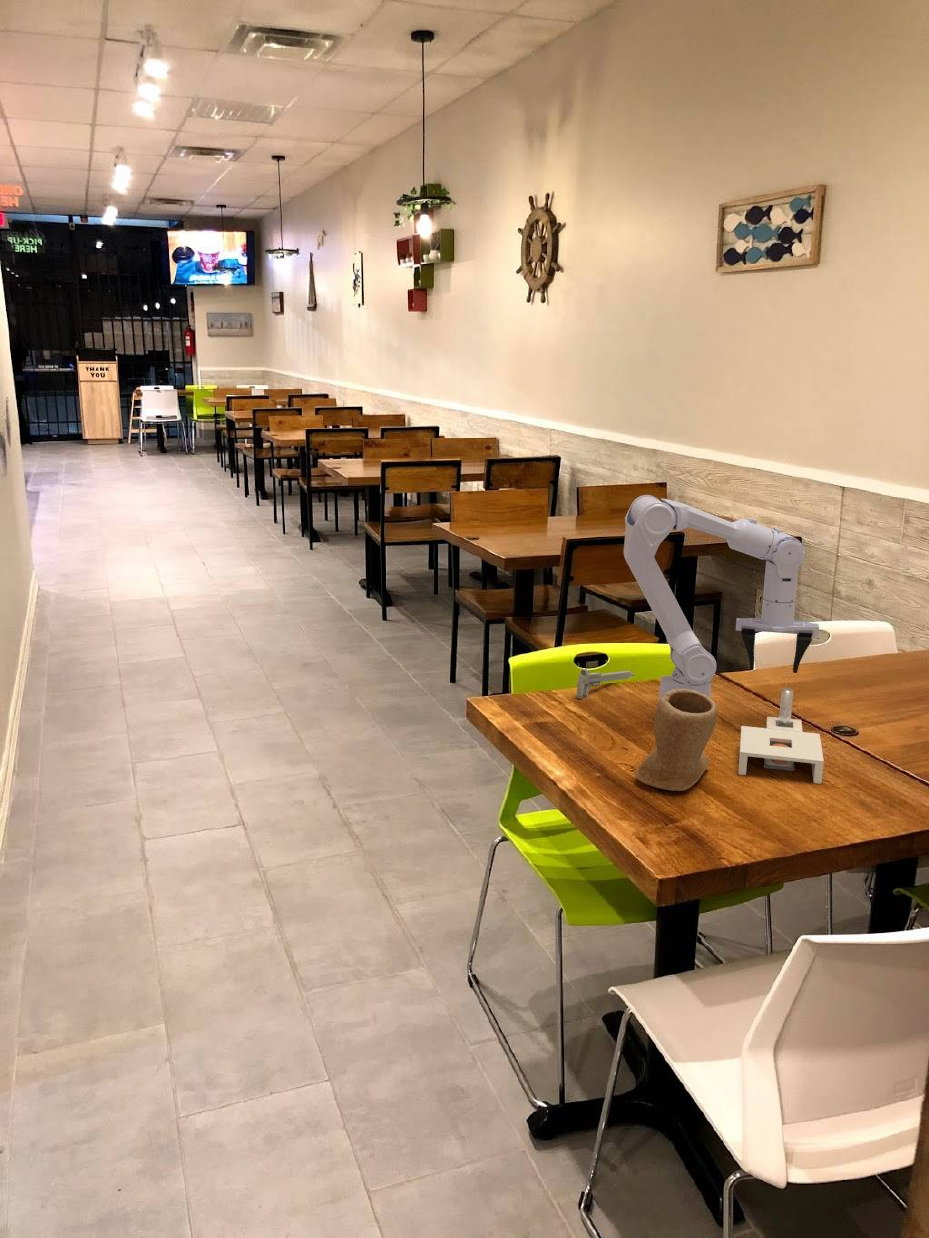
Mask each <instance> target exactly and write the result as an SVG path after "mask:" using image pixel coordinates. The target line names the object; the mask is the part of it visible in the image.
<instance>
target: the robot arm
mask: <svg viewBox="0 0 929 1238" xmlns="http://www.w3.org/2000/svg"><path fill="white" fill-rule="evenodd" d="M660 500H661V501H660ZM624 521H625V534H624V544H623V556H624V560H625V562H626V564H627V565H628V567H629V569H630V571H631V573H632V575H633V577H634V578H635V580H636V582H637V585H638V586H639V587H640V590H641V592H642V593H643V596H644V598H645V599H646V601H647V603H648V605H649V607H650V609H651V610H652V612H653V615H654V616H655V618H656V620H657V622H658V623H659V625H660V628H661V629H662V632H663V633H664V635H665V638H666V642H667V644H668V646H669V649H670V651H669V652H670V654H669V656H670V659H671V662H672V664H673V665H674V669H673V671H672V673H671V675H662V676H661V678H660V684H659V685H660V686H659V693H658V695H659V696H658V702H659V701H660V699H661V697H662V696H663V695H664V694H665V693H667V692H668V691H670V690H674V689H690V690H695V691H698V692H700V693H703V694H705V695H706V696H708V697H710V698H711V691H712V690H711V689H712V679H713V677H714V675H715V674H716V671H717V661H716V658H715V656H713V655H712V654H711V653H710V652H709V651H707V650H706V649H705V647H703V645H702V643H701V641H700V640H699V638H698V637H697V635H696V634H695V632H694V631H693V629H692V628H691V625H690V624H689V621H688V619H687V618H686V616H685V614H684V613H683V610H682V608H681V606H680V605H679V603H678V601H677V598H676V596H675V595H674V593H673V591H672V589H671V587H670V585H669V583H668V581H667V580H666V579H667V578H665V576H664V574H663V572H662V569H661V568H660V566H659V564H658V563H657V562H658V561H657V560H656V557H655V555H656V553H657V551H658V548H659V546H660V544H661V543H662V542H663V541H664V540H665V539H666V538H667V537H668V536H669V534H670V533H671V532H672V531H673V530H674V531H675V532H680V531H682V530H685V529H686V528H687V529H688V528H691V529H694V530H696V531H700V532H704V533H707V534H710V535H712V536H715V537H720V538H722V539H724V540H726V541H727V545H728V547H729V549H731V550H734V551H737V552H741V553H743V554H746V555H748V556H751V557H754V558H757V559H759V560H766V561H765V572H764V583H763V594H762V595H763V596H762V605H761V616H760V617H761V618H760V617H748V618H746V617H745V618H743V617H742V618H741V617H740V618H739V617H736V619H735V621H736V622H735V631H738V632H741V635H740V636H741V638H742V641H743V643H744V646H745V649H746V652H747V656H748V661H749V670H754V669H755V643H756V632H766V633H775V634H776V633H777V634H778V633H780V634H792V635H796V639H795V640H796V643H795V654H794V658H793V659H794V660H793V666H792V673H793V674H798V670H799V668H800V667H799V666H800V663H801V661H802V659H803V656H804V655H805V653H806V651H807V649H808V648H809V647H810V645H811V643H812V641H813V637H817V638H818V637H819V632H820V624H819V623H813V622H806V621H800V620H795V610H796V602H797V601H796V599H797V592H798V591H797V587H798V579H799V577H798V575H799V568H800V566H801V565H802V564H803V562H804V560H805V558H806V555H807V553H806V552H805V548H804V544H802V542H801V541H800V540H799V539H798V538H796V537H794V536H792V535H790V534H788V533H785V532H783V530H781V528H778V527H775V526H774V527H773V528H770V527H768V526H765V525H762V524H759V523H758V520H757V519H755V518H752V517H748V519H746V518H739V519H738V520H735V521H729V520H727V519H723V518H722V517H719V516H716V515H714V514H711V513H708V512H707V511H704V510H701V509H699V508H696V507H694V506H691V505H689V504H686V503H683V502H680V501H675V500H672V499H666V498H662V497H661V498H660V499H659V498H658V497H655V496H654V495H651V494H644V495H640V496H638V497H637V498H635V499H634V500H633V502H632V503H631V505H630V507H629V509H628V510H627V513H626V515H625V517H624Z"/></svg>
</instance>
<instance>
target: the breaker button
mask: <svg viewBox="0 0 929 1238" xmlns="http://www.w3.org/2000/svg"><path fill="white" fill-rule="evenodd" d="M772 746H779V747H788V746H787V745H784V744H773V745H772ZM788 748H789V747H788ZM763 768H764V769H769V770H779V771H786V772H787V771H788V772H795V761H786V760H777V759H768V758H763Z"/></svg>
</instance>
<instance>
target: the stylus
mask: <svg viewBox="0 0 929 1238" xmlns="http://www.w3.org/2000/svg"><path fill="white" fill-rule="evenodd" d="M780 695H781V696H780V705H779V714H778V715H779V716H778V718H779V725H778V726H780V727H789V728H790V722H791V719H792V710H793V700H794V689H791V688H782V689H781V693H780Z"/></svg>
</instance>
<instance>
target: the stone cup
mask: <svg viewBox="0 0 929 1238" xmlns="http://www.w3.org/2000/svg"><path fill="white" fill-rule="evenodd" d="M717 716H718V707H717V704H716V702H715V701H714V700H713V699H711V696H710V697H708V696H706V695H705V694H703V693H700V692H698V691H695V690H690V689H674V690H670V691H668V692H667V693H665V694H664V695H663V696H662V697H661V699H660V701H659V700H658V704H657V706H656V711H655V715H654V722H653V733H654V739H655V748H654V749H653V750H652V751H651V752H650V753H649V754H648V755H647V756H646V758H644V760H643V761H642V762H641V763H640V764H639V766H637V768H636V770H635V777H636V779H637V780H638V781H639V782H641V783H643V784H645V785H647V786H650V787H653V788H656V789H662V790H665V791H666V790H667V791H677V792H681V791H686V790H688V789H691V788H692V787H693V786H694V785H695V784H696V783H697V782H699V780H700V779H701V776H702V775H703V774H704V773H705V771H706V770H707V768H708V767H709V766H710V763H711V759H710V758H709V757H708V756H707V755H706V754H704V750H705V748H706V747H707V744H708V742H709V741H710V739H711V737H712V734H713V733H714V731H715V727H716V723H717Z"/></svg>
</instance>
